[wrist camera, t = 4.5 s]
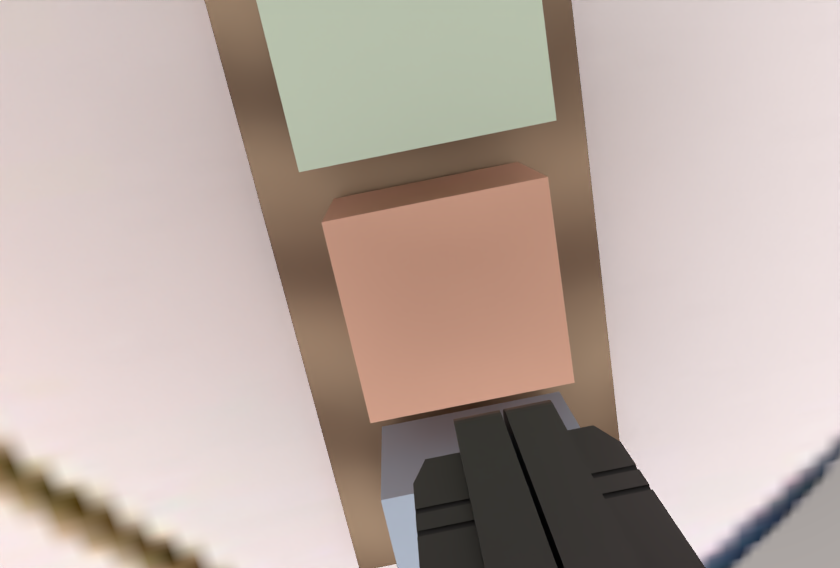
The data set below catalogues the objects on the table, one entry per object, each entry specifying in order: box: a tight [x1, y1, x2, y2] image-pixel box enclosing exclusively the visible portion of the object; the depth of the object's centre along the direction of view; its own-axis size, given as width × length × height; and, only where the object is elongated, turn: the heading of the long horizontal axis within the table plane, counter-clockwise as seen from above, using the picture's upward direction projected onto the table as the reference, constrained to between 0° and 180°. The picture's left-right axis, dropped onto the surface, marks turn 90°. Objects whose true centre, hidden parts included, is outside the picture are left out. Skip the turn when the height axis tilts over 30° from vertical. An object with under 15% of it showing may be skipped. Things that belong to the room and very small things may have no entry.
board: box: [205, 0, 619, 568], centre depth 21 cm, size 24×11×3 cm, turn 11°
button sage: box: [256, 0, 556, 172], centre depth 15 cm, size 6×6×4 cm
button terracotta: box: [321, 162, 575, 423], centre depth 19 cm, size 6×6×4 cm
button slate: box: [381, 392, 580, 568], centre depth 20 cm, size 6×6×4 cm
